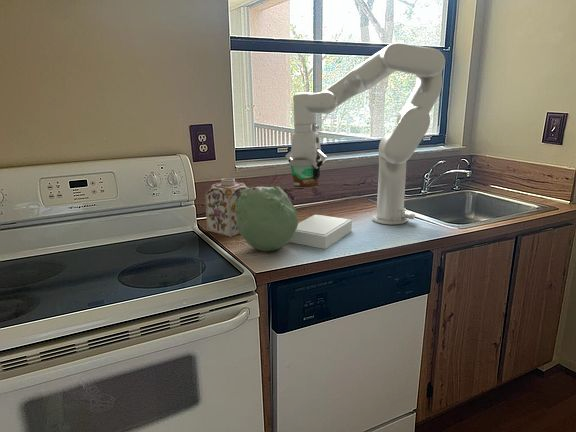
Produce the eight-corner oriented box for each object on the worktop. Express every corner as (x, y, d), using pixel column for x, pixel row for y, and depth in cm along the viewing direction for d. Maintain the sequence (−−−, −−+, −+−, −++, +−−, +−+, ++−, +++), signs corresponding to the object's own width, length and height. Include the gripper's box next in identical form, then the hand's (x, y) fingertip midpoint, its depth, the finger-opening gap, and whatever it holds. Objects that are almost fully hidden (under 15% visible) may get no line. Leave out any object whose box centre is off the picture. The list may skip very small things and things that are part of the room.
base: (351, 231, 154) (351, 219, 153) (325, 248, 138) (325, 235, 137) (314, 225, 161) (315, 213, 160) (286, 241, 145) (285, 228, 143)
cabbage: (305, 254, 133) (305, 188, 127) (241, 262, 128) (239, 193, 122) (289, 238, 147) (289, 178, 142) (232, 244, 142) (229, 182, 137)
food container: (298, 189, 159) (297, 161, 157) (290, 187, 165) (288, 159, 162) (328, 184, 165) (327, 157, 162) (319, 182, 170) (318, 155, 168)
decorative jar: (206, 231, 156) (203, 179, 151) (229, 223, 165) (227, 174, 160) (231, 237, 149) (228, 184, 144) (254, 228, 158) (253, 178, 153)
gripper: (331, 128, 158) (332, 177, 163) (289, 127, 167) (291, 174, 172) (322, 130, 152) (323, 181, 157) (278, 129, 161) (280, 178, 166)
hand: (306, 177), depth 164 cm, fingers closed on food container, 7 cm apart
